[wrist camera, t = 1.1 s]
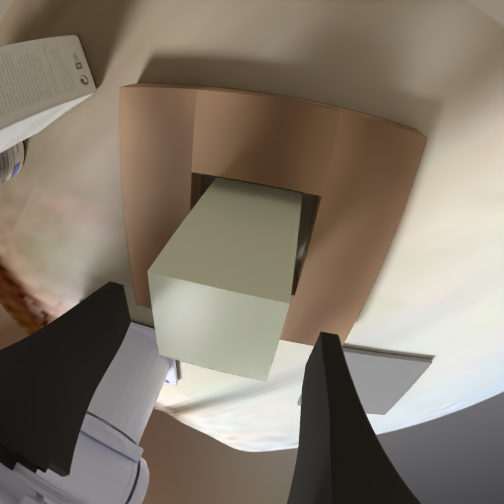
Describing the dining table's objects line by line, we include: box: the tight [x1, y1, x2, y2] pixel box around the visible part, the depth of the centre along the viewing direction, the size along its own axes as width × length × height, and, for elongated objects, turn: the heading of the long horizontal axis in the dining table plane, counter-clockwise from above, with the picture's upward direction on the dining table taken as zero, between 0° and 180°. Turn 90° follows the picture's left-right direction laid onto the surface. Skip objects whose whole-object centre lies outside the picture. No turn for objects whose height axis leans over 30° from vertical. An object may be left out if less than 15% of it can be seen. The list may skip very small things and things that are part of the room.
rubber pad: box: [298, 347, 432, 415], centre depth 24 cm, size 9×9×1 cm
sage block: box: [147, 178, 302, 381], centre depth 14 cm, size 4×4×8 cm
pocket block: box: [119, 84, 427, 346], centre depth 16 cm, size 14×14×2 cm
